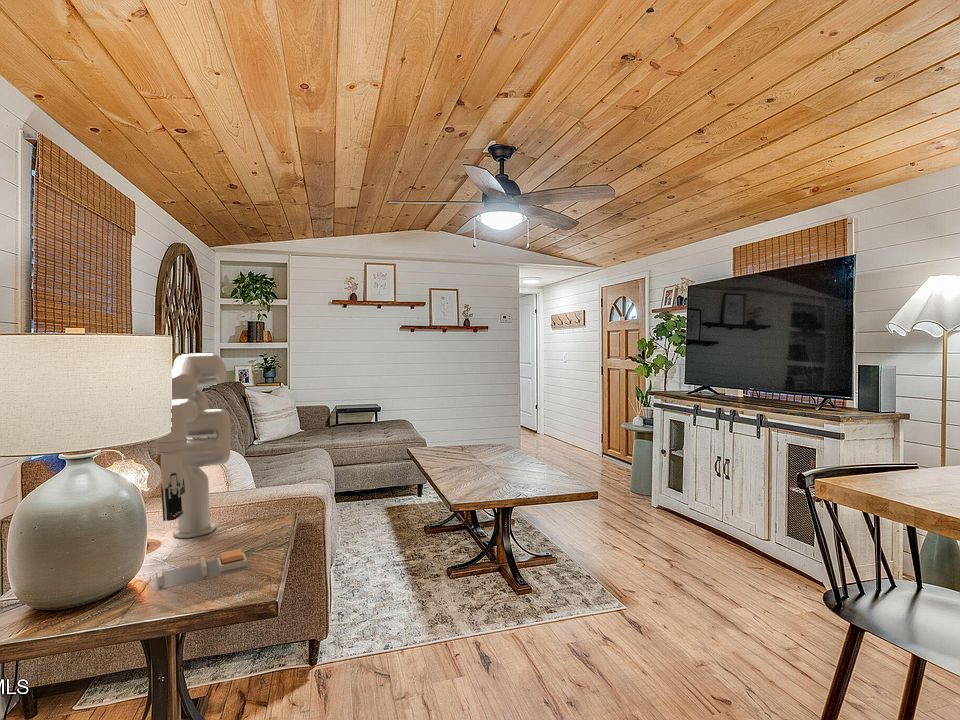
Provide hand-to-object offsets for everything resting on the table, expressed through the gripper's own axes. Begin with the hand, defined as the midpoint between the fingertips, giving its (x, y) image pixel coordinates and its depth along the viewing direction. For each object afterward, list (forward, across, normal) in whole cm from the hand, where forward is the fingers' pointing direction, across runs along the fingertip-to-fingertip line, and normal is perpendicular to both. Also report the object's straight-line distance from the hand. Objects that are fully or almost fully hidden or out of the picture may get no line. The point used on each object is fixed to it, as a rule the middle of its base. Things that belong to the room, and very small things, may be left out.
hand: (174, 507), depth 146 cm
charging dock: (+16, +13, +6) cm, 22 cm away
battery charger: (+3, 0, 0) cm, 3 cm away
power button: (+13, +13, +13) cm, 23 cm away
